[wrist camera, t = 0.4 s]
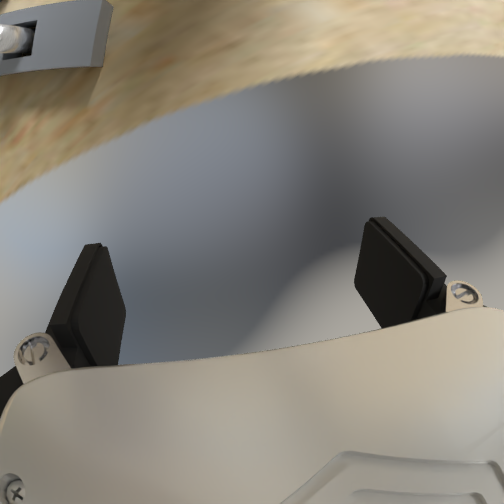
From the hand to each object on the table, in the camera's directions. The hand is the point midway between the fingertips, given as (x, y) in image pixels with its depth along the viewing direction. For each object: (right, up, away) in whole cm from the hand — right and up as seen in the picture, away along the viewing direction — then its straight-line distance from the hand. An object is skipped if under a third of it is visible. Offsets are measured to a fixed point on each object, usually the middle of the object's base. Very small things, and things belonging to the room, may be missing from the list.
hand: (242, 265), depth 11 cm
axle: (-26, +27, +14) cm, 40 cm away
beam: (-26, +27, +14) cm, 40 cm away
